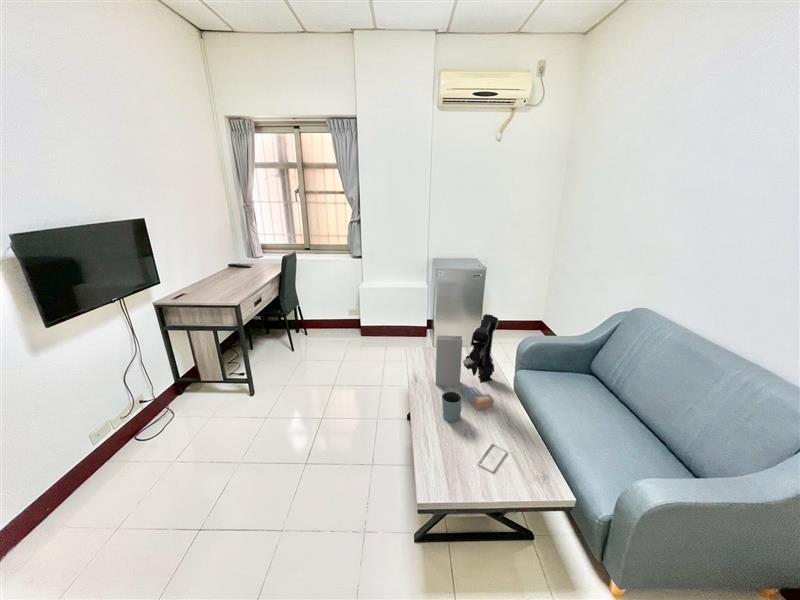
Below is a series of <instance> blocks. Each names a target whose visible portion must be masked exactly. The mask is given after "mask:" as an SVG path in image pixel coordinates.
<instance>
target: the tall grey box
mask: <svg viewBox="0 0 800 600" xmlns="http://www.w3.org/2000/svg"><path fill="white" fill-rule="evenodd" d="M462 351H463V339H462V335H443V334H442V335H440V334H439V335H438V334H436V356H435V359H436V360H435V386H438V387H439V386H441V387H442V386H443V387H444V386H445V387H461V371H462V370H461V369H462V355H463V354H462V353H463V352H462Z"/></svg>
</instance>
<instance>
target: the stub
mask: <svg viewBox="0 0 800 600" xmlns="http://www.w3.org/2000/svg"><path fill="white" fill-rule="evenodd" d="M494 402H495V399H494V398H493V396H492V395H490V393H488V394H483V395H482V396H476V397H474V401H473V404H472V405H473V407H474V408H475V409H476V410H477V411H483V410H486V409H493V408H494Z"/></svg>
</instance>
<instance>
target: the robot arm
mask: <svg viewBox="0 0 800 600" xmlns="http://www.w3.org/2000/svg"><path fill="white" fill-rule="evenodd" d="M498 325H499V318H498V317H495V316H494V314H489V313H486V314H484V315H482V320H481V324H480V326H479V327H477V328H476V329H475V330H474V331H473V333H472V336H471V337H472V338H471V342H470V346H473V347H472V350H471V351H470V353H469V355H467V356H465V359H464V360H462V363H463V366H464V367H465V368H466V369H467V370H471V373H472V375H473V376H476V375H477V374H478V376H477V377H478V378H479V383H480V384H482V383H484V382H491V381H493V378H492V377H491V376H493V373H494V372H495V365H494V363H493V361H494V359H493V357H492V353H491V352H492V347H493V345H492V344H493V338H494V331H496V329H497V327H498Z"/></svg>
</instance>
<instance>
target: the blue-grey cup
mask: <svg viewBox="0 0 800 600" xmlns="http://www.w3.org/2000/svg"><path fill="white" fill-rule="evenodd" d="M462 402H463V396H462V395H461V393H459V392H457V391H453V390H451V391H445V392H444V393H442V395H441V404H442V417H443V419H444V421H446V422H448V423H457V422H459V421H460V419H461V412H462Z"/></svg>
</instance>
